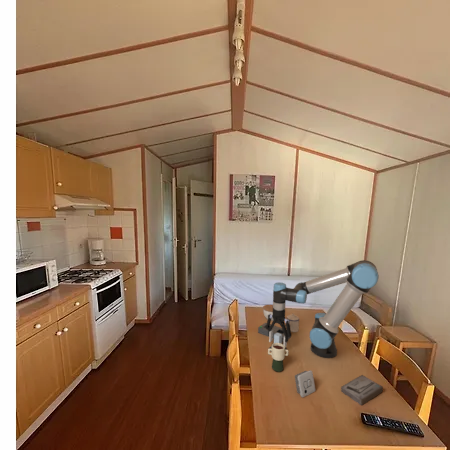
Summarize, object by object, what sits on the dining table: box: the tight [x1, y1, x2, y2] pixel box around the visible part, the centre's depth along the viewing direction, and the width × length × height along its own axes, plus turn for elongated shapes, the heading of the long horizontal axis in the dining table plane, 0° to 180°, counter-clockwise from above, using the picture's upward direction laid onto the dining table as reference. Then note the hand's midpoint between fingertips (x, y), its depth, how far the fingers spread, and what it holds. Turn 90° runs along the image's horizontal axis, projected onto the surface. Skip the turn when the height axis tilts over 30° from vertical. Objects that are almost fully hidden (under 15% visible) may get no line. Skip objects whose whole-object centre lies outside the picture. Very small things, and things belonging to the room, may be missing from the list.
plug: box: [273, 333, 283, 344], centre depth 158 cm, size 4×4×10 cm
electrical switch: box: [294, 370, 316, 398], centre depth 123 cm, size 9×5×9 cm, turn 121°
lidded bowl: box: [262, 304, 273, 321], centre depth 204 cm, size 13×13×11 cm
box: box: [340, 374, 384, 406], centre depth 123 cm, size 11×17×3 cm, turn 120°
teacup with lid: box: [285, 313, 300, 333], centre depth 186 cm, size 12×9×12 cm
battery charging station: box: [257, 322, 292, 343], centre depth 178 cm, size 20×10×5 cm, turn 51°
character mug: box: [267, 342, 289, 373], centre depth 139 cm, size 11×7×13 cm, turn 86°
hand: (277, 343), depth 158 cm, fingers open, 9 cm apart
